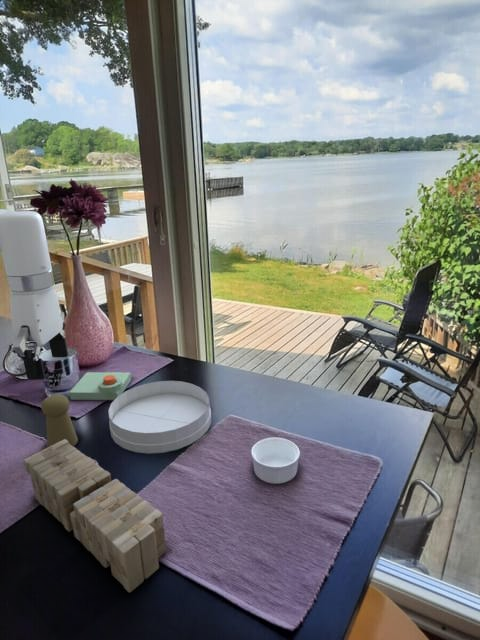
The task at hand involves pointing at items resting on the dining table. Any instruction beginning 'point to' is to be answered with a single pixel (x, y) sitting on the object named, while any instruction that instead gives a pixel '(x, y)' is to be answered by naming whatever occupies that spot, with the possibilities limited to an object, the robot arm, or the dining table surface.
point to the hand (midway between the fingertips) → (49, 367)
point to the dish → (159, 416)
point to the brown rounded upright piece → (58, 420)
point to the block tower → (99, 512)
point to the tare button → (109, 380)
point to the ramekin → (275, 460)
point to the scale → (100, 386)
